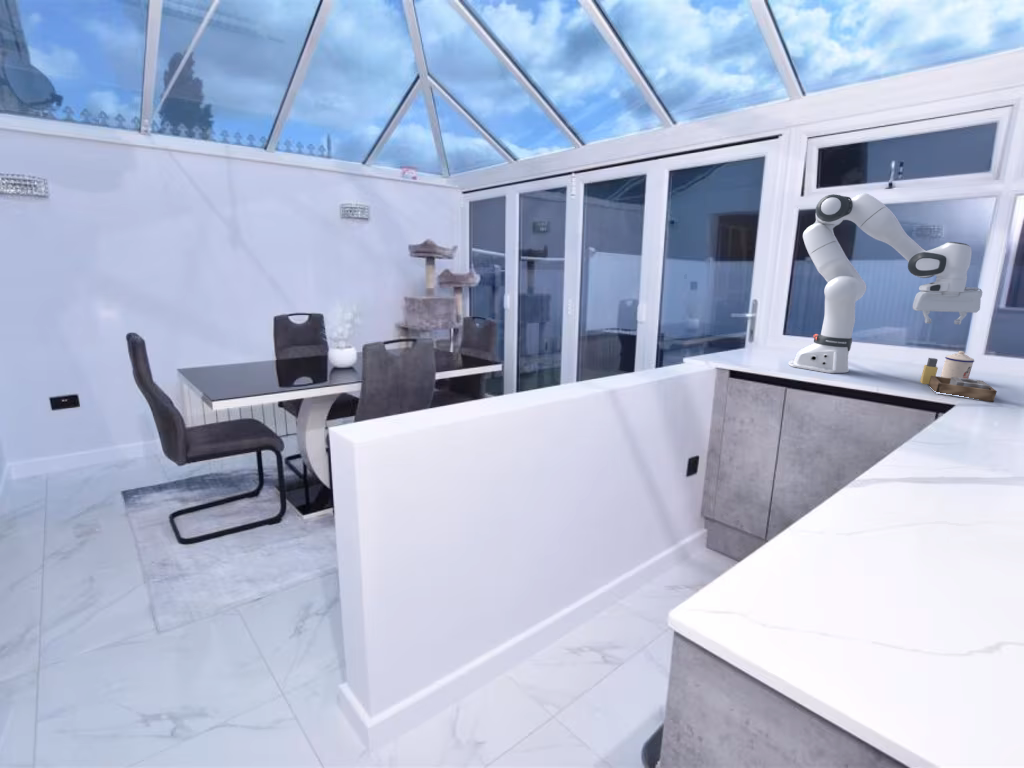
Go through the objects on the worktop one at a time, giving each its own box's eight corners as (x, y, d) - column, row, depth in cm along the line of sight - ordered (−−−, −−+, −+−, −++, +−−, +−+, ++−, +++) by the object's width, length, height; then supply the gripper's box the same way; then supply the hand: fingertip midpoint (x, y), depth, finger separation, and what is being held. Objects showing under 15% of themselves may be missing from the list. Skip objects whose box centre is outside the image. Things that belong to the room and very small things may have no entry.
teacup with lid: (967, 383, 204) (976, 354, 201) (938, 378, 210) (946, 350, 207) (969, 378, 213) (977, 351, 210) (941, 374, 218) (948, 347, 215)
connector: (921, 383, 200) (928, 358, 197) (919, 381, 203) (926, 357, 201) (933, 385, 198) (940, 360, 196) (931, 383, 202) (938, 358, 199)
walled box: (935, 394, 186) (939, 380, 184) (928, 385, 197) (931, 373, 196) (993, 402, 178) (997, 388, 177) (982, 393, 190) (986, 380, 189)
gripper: (978, 287, 192) (970, 324, 195) (914, 285, 198) (907, 321, 201) (988, 287, 186) (980, 325, 189) (922, 286, 192) (915, 323, 195)
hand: (942, 323), depth 195 cm, fingers open, 8 cm apart
